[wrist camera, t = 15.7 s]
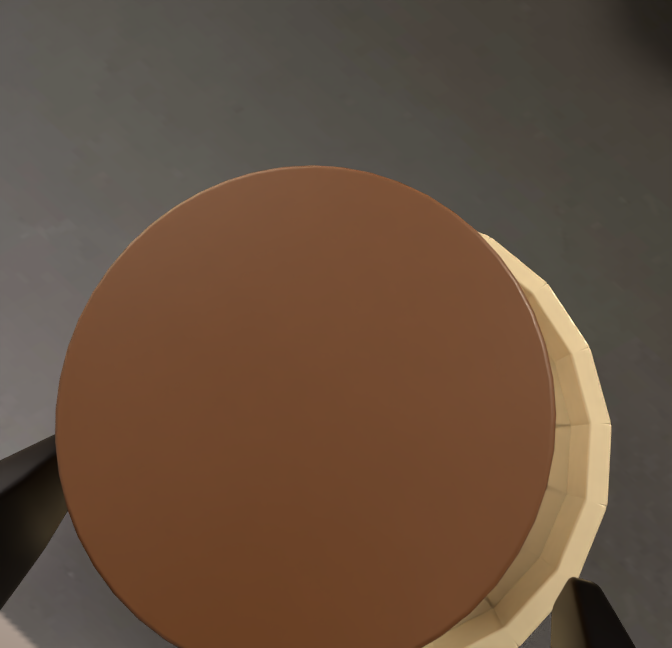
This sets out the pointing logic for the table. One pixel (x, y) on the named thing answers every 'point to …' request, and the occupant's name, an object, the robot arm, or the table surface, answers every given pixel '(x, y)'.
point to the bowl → (550, 485)
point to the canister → (305, 416)
